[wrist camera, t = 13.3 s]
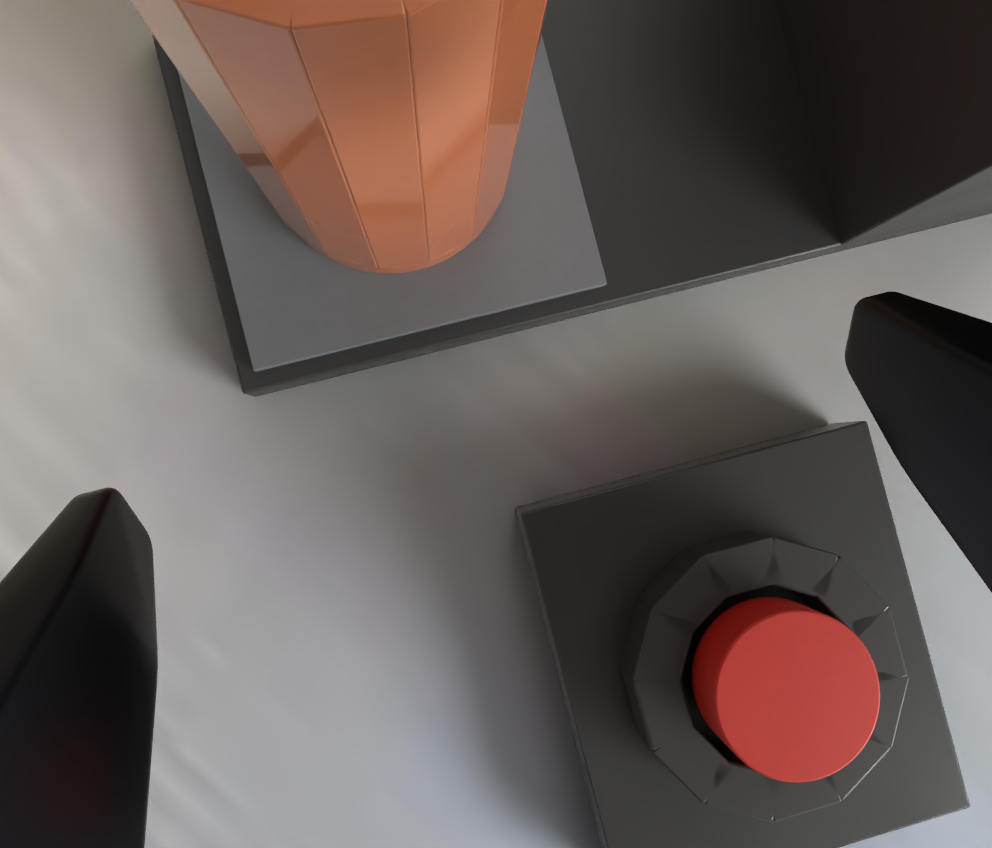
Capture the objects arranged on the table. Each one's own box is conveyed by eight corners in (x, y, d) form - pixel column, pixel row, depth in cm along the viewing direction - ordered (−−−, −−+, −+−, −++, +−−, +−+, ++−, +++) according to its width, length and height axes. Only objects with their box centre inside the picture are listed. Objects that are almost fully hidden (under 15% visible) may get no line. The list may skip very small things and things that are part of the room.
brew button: (861, 729, 20) (900, 756, 18) (713, 773, 20) (739, 804, 18) (821, 578, 20) (856, 590, 18) (673, 619, 20) (695, 635, 18)
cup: (477, 301, 22) (520, 92, 9) (234, 238, 21) (-70, -71, 9) (535, 68, 22) (655, -441, 9) (297, 2, 22) (94, -619, 9)
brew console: (929, 779, 23) (1013, 835, 20) (609, 875, 23) (639, 952, 19) (833, 423, 24) (900, 417, 20) (514, 508, 23) (526, 517, 19)
